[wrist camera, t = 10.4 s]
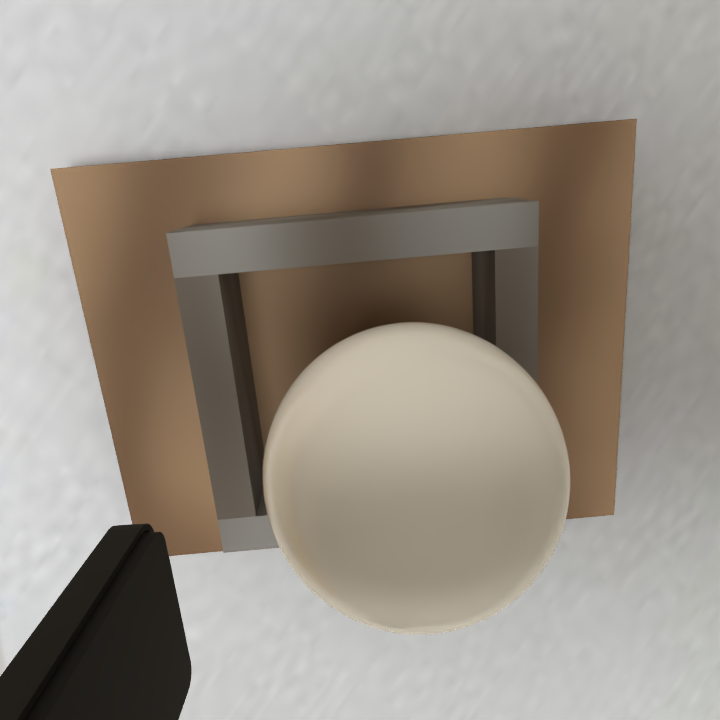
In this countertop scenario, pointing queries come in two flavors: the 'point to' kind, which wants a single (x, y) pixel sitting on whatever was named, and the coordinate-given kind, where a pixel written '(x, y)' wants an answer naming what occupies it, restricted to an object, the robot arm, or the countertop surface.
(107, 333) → the lamp socket
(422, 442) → the lightbulb
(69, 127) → the countertop surface
